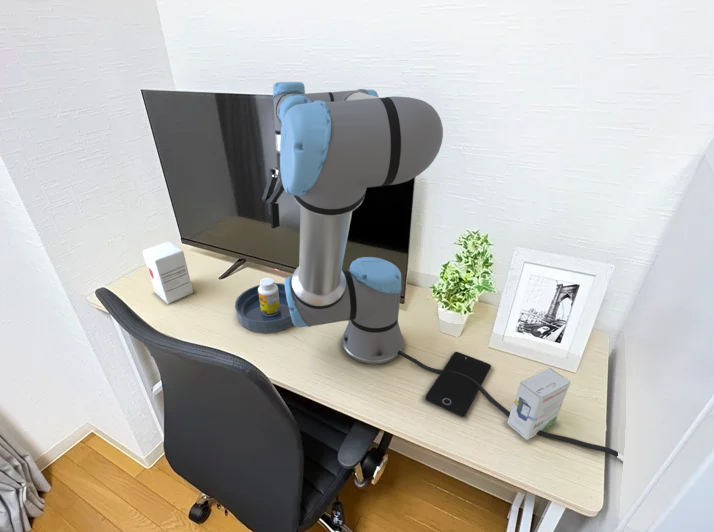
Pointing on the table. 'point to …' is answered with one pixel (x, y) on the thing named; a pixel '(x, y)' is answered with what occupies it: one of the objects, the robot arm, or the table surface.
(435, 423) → the table surface
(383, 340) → the robot arm
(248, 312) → the bowl
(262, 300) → the supplement bottle
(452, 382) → the cell phone
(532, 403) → the ink box
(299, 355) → the table surface
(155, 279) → the rectangular carton
